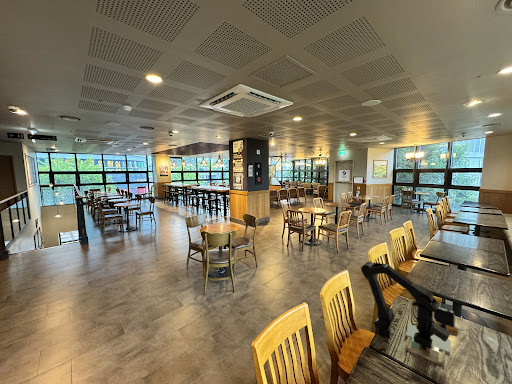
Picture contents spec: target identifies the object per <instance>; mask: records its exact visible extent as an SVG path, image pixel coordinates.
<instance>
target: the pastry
mask: <svg viewBox="0 0 512 384" xmlns="http://www.w3.org/2000/svg"><path fill="white" fill-rule="evenodd" d="M435 323H436V324H440V323H439V322H437V321H436V320H435ZM446 328H447V329H448V330H449V332H450V333H449V334H451V335H458V334H459V329H458V328H457V327H454V328H453V327H450V326H447V325H446Z"/></svg>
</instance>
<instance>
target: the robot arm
mask: <svg viewBox="0 0 512 384" xmlns="http://www.w3.org/2000/svg"><path fill="white" fill-rule="evenodd" d="M360 270H361V272H362V275H363V277H364V278H365V279H366V280H367V281H368V284H369V287H370V290H371V292H372V296H373V298H374V301H375V304H376V307H377V317H376V319H375V320H374V321H373V325H374V327H375V328H374V331H375V333H376V332H377V333H376V334H377V335H378V336H380V337H382V338H389V339H390V338H391V336H392V329H391V328H390V327H391V326H392V325H393V322H394V320H395V317H396V315H395V313H394V310H393V308H389V307H388V305H387V302H386V300H385V296H384V293H383V291H382V288H381V286H380V283H379V280H378V275H381V274H385V275H386V276H387V277H389V278H390V279H392V280H393V281H394V282H395V283H397V284H398V285H399V286H401V287H403V289H405V290H406V291H408V293H409V294H410V295H411V298H413V299H414V300H413V301H412V303H411V305H412V306H414V307H416V323H417V324H416V327H417V329H418V332H419V333H418V332H416V333H415V334H414V342H416V343H418V344H420V345H421V346H422V348H423V350H426V349H427V347H428V348H432V341H433V340H432V339H431V336H433V335H436V336H437V337H439V338H440V339H442V340H443V341H445V342H446V341H447V339H450V338H449V337H450V334H451V333H450V332H449V330H448V329H447V328H446V325H447V326H450V327H453V328H454V327H455V326H456V316H455V315H456V314H455V310H452V309H447V308H443V307H440V303H439V302H438V301H437V299H436V298H435V297H434V294H433V292H432V291H431V290H430V289H428V288H426V287H424V286H422V285H421V284H420V285H419V284H417V283H415V282H413V281H411V279H409V278H407V277H406V276H404V275H403V274H402V273H400V272H399V271H397V270H395V268H393V267H391V265H390V264H388V263H382V262H381V263H380V262H372V261H367V262H365V263H364V264H363V265H362V266H360ZM434 319H435V320H434ZM436 321H437V322H439V323H440V324H436ZM455 328H456V327H455Z"/></svg>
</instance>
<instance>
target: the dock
mask: <svg viewBox="0 0 512 384" xmlns="http://www.w3.org/2000/svg"><path fill="white" fill-rule="evenodd" d="M407 326H408V327H407V329H406V332H405V337H406V338H408V337H410V339H411V340H412V337H414V334H415V333H416V332H418V329H417V326H415V325H413V324H408V325H407ZM418 333H419V332H418ZM431 339H432V340H433V341H432V345H433V346H435V347H438V348H439V351H440V352H442V353H443V351H445V354H448V355H450V354H451V339H450V338H448V339H447V341H446V342H445V341H443V340H442V339H440V338H439V337H437V336H436V335H433V336H431Z"/></svg>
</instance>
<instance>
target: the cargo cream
mask: <svg viewBox="0 0 512 384" xmlns="http://www.w3.org/2000/svg"><path fill="white" fill-rule="evenodd" d="M439 351H440V350H439V348H438V347H435V346H433V345H432V348H430V355H432V356H434V357H437V358H439Z"/></svg>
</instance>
